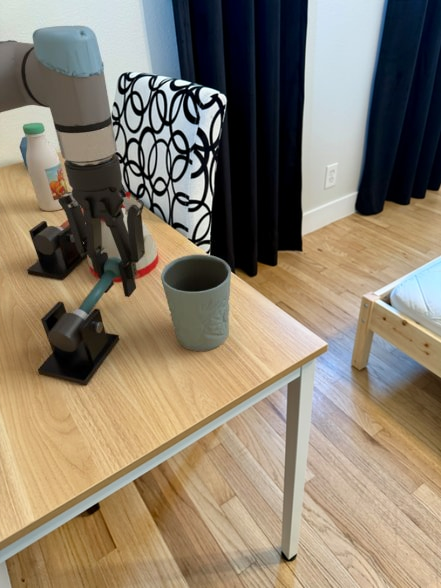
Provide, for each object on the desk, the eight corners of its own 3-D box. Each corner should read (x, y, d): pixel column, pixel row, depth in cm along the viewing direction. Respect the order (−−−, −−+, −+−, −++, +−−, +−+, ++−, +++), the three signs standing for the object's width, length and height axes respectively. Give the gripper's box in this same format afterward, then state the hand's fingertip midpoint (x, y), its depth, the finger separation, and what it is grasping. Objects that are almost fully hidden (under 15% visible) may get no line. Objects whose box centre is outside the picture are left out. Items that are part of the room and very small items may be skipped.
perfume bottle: (25, 167, 133) (13, 127, 126) (38, 160, 138) (27, 121, 131) (42, 168, 132) (30, 128, 124) (54, 161, 136) (44, 122, 129)
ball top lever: (111, 268, 75) (104, 248, 72) (134, 272, 74) (128, 252, 71) (53, 348, 63) (42, 329, 60) (79, 354, 62) (70, 335, 59)
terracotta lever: (87, 213, 98) (82, 195, 95) (104, 215, 96) (100, 197, 94) (37, 253, 84) (30, 233, 81) (56, 256, 83) (50, 236, 80)
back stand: (57, 249, 93) (47, 215, 88) (90, 254, 90) (82, 219, 86) (27, 274, 85) (14, 238, 80) (62, 280, 83) (51, 244, 78)
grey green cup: (243, 340, 68) (243, 278, 61) (186, 364, 64) (179, 301, 57) (213, 306, 75) (209, 247, 68) (159, 326, 71) (150, 265, 64)
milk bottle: (45, 214, 106) (20, 131, 94) (35, 204, 111) (10, 124, 99) (75, 205, 110) (54, 125, 98) (64, 196, 115) (44, 118, 103)
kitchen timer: (172, 256, 89) (164, 187, 80) (125, 289, 80) (110, 216, 71) (123, 238, 95) (111, 173, 86) (75, 268, 86) (55, 198, 77)
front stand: (76, 330, 71) (64, 291, 66) (120, 339, 69) (111, 300, 64) (38, 374, 63) (21, 333, 59) (86, 386, 61) (73, 345, 56)
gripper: (156, 151, 61) (172, 285, 75) (55, 143, 65) (89, 271, 79) (132, 171, 55) (154, 311, 69) (23, 160, 59) (65, 295, 74)
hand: (119, 289), depth 74 cm, fingers closed on ball top lever, 4 cm apart
